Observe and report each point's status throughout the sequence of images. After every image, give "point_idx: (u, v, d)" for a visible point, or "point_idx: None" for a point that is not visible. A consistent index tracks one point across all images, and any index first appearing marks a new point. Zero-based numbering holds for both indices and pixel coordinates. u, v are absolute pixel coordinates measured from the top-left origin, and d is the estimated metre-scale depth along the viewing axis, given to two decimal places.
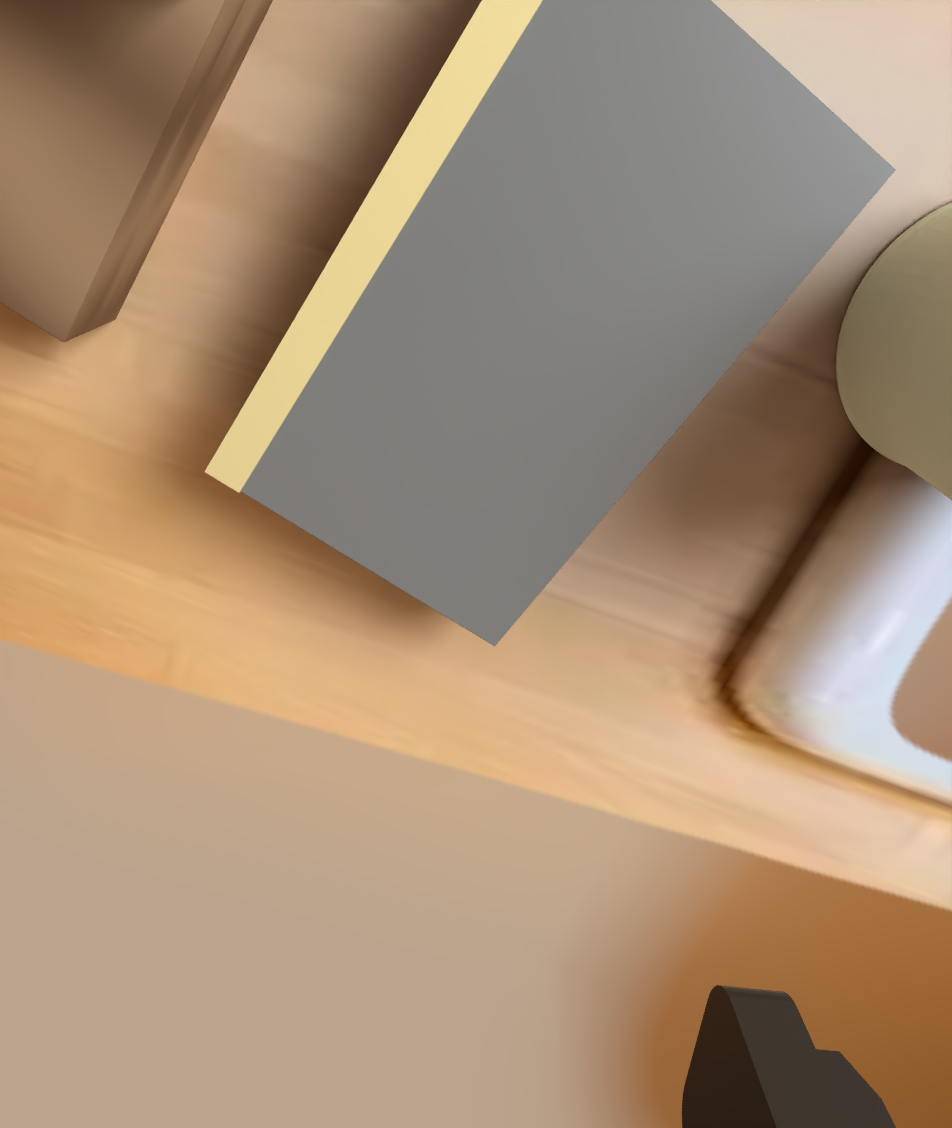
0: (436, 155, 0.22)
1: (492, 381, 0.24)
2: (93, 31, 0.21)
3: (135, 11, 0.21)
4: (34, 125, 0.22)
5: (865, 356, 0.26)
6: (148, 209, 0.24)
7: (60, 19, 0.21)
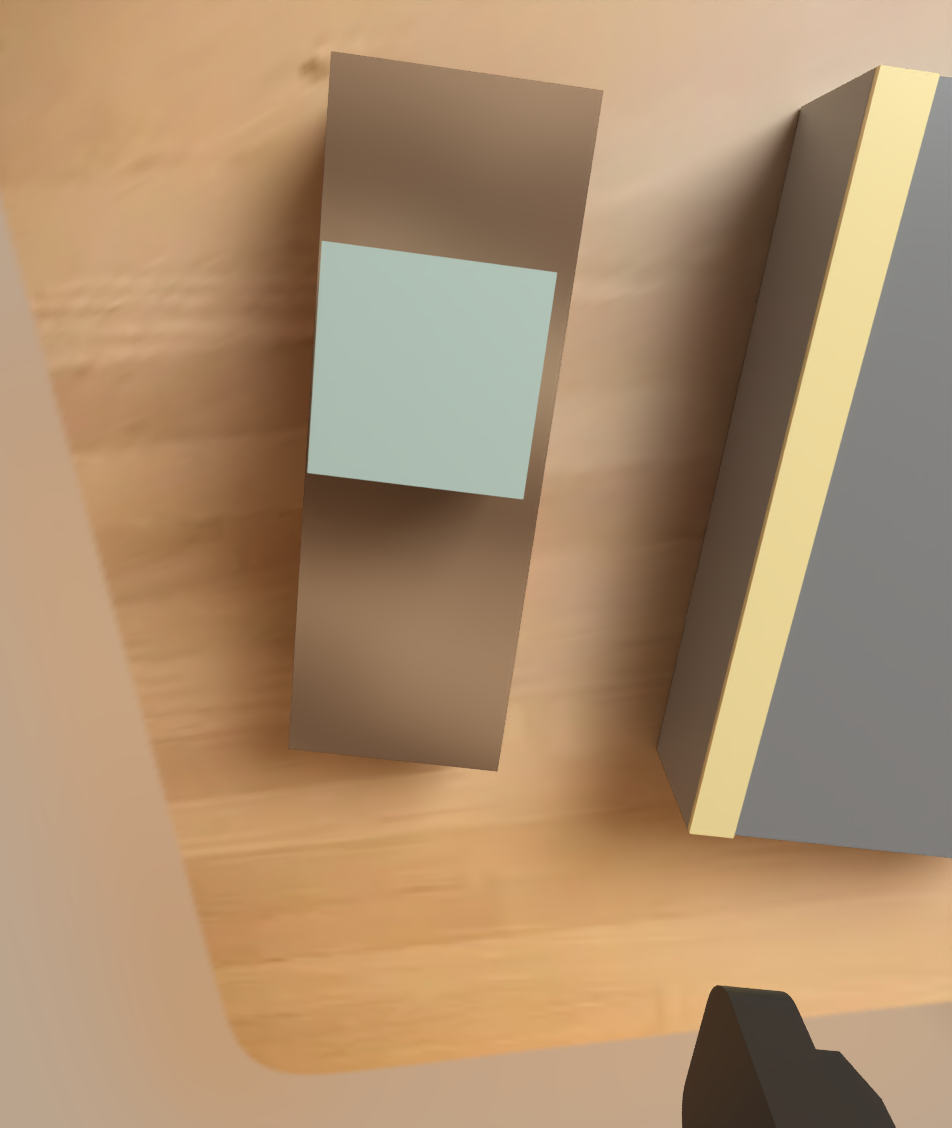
0: (838, 409, 0.18)
1: None
2: None
3: None
4: (408, 586, 0.20)
5: None
6: None
7: None
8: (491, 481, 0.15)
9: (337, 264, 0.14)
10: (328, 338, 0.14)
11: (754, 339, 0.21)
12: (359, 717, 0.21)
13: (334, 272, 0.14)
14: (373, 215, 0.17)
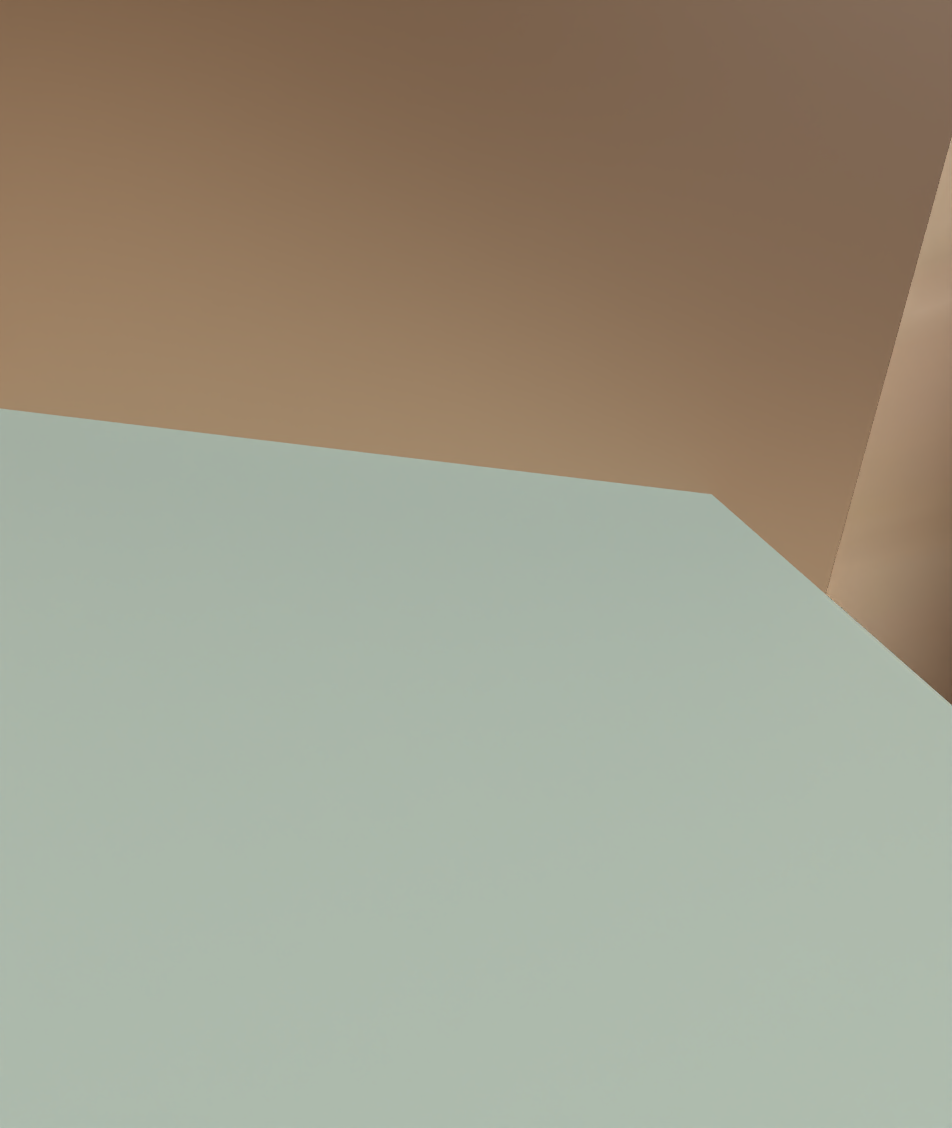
0: None
1: None
2: None
3: None
4: None
5: None
6: None
7: None
8: None
9: None
10: None
11: None
12: None
13: None
14: (36, 16, 0.04)
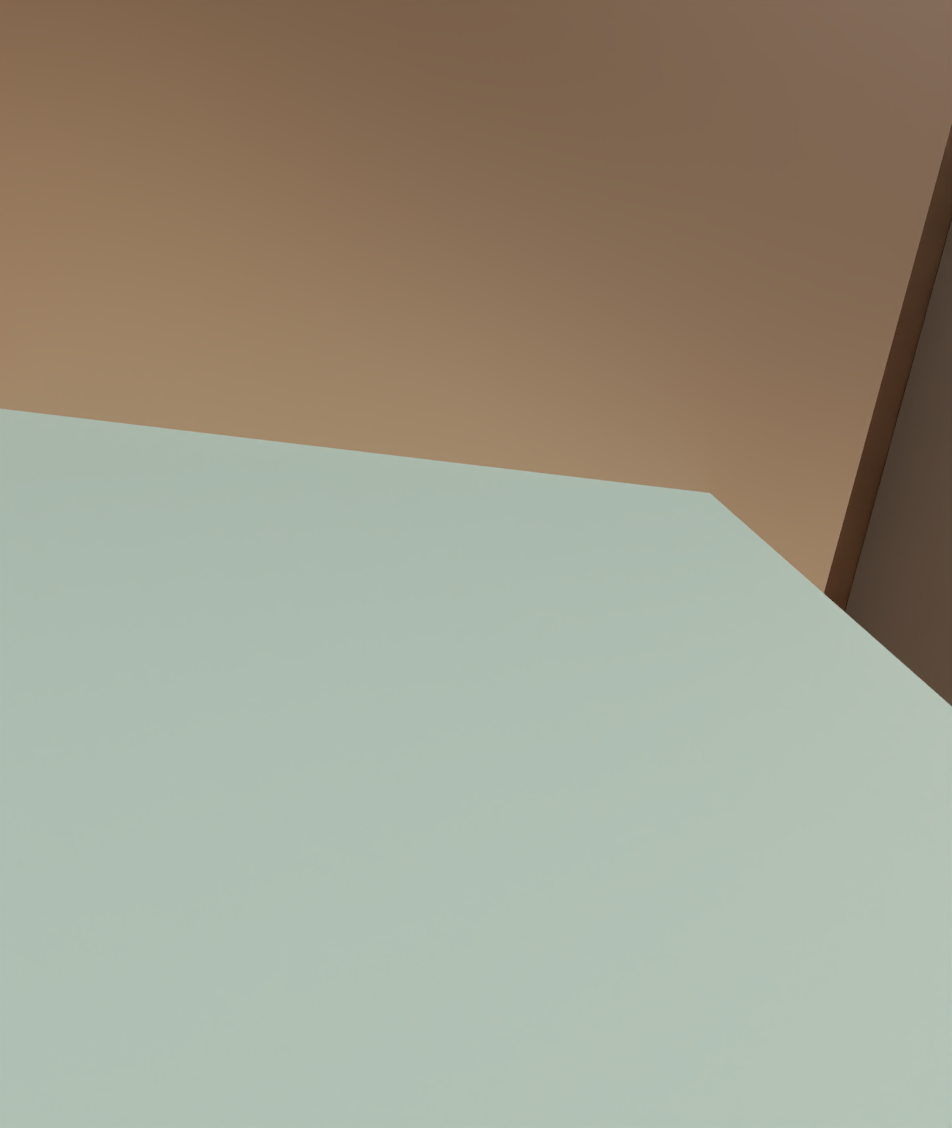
0: None
1: None
2: None
3: None
4: None
5: None
6: None
7: None
8: None
9: None
10: None
11: (917, 394, 0.14)
12: None
13: None
14: (34, 16, 0.04)
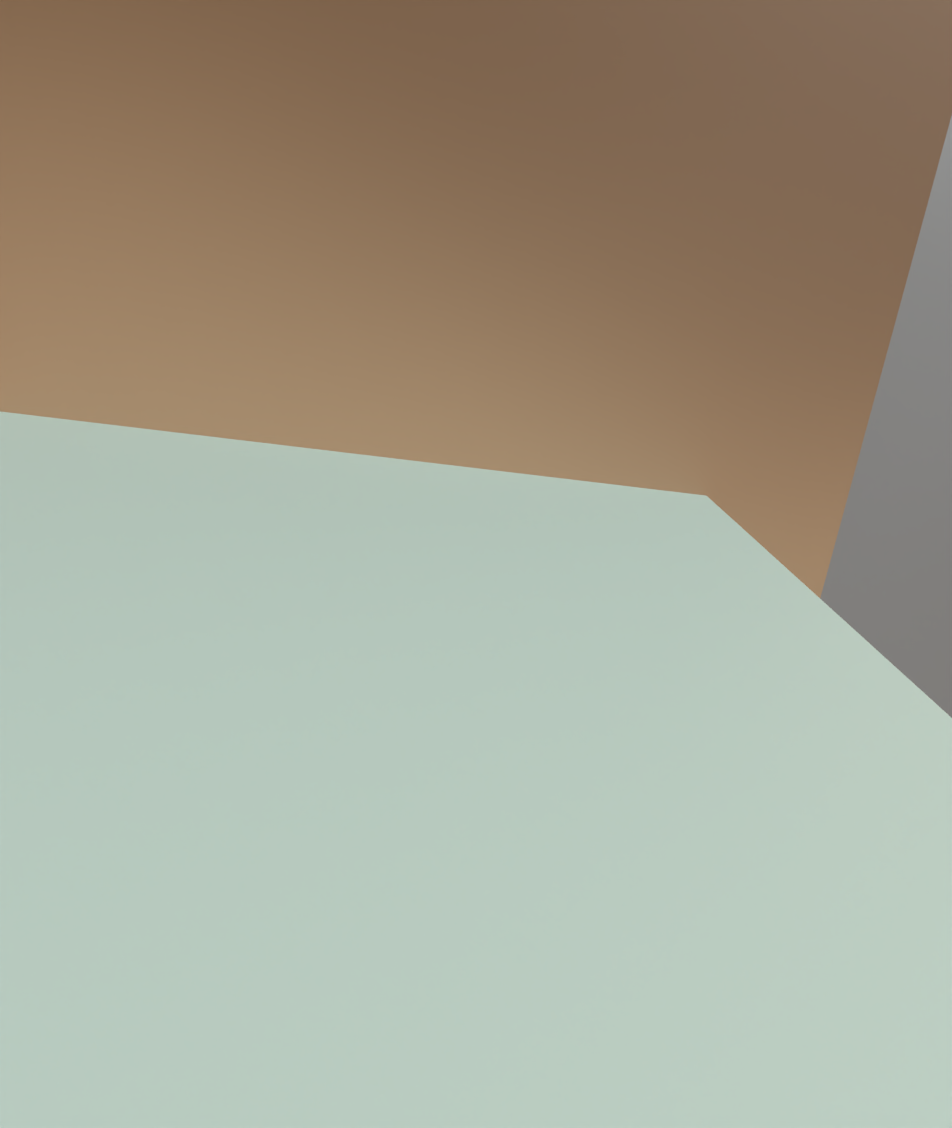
0: None
1: (880, 575, 0.20)
2: None
3: None
4: None
5: None
6: None
7: None
8: None
9: None
10: None
11: None
12: None
13: None
14: (28, 18, 0.04)
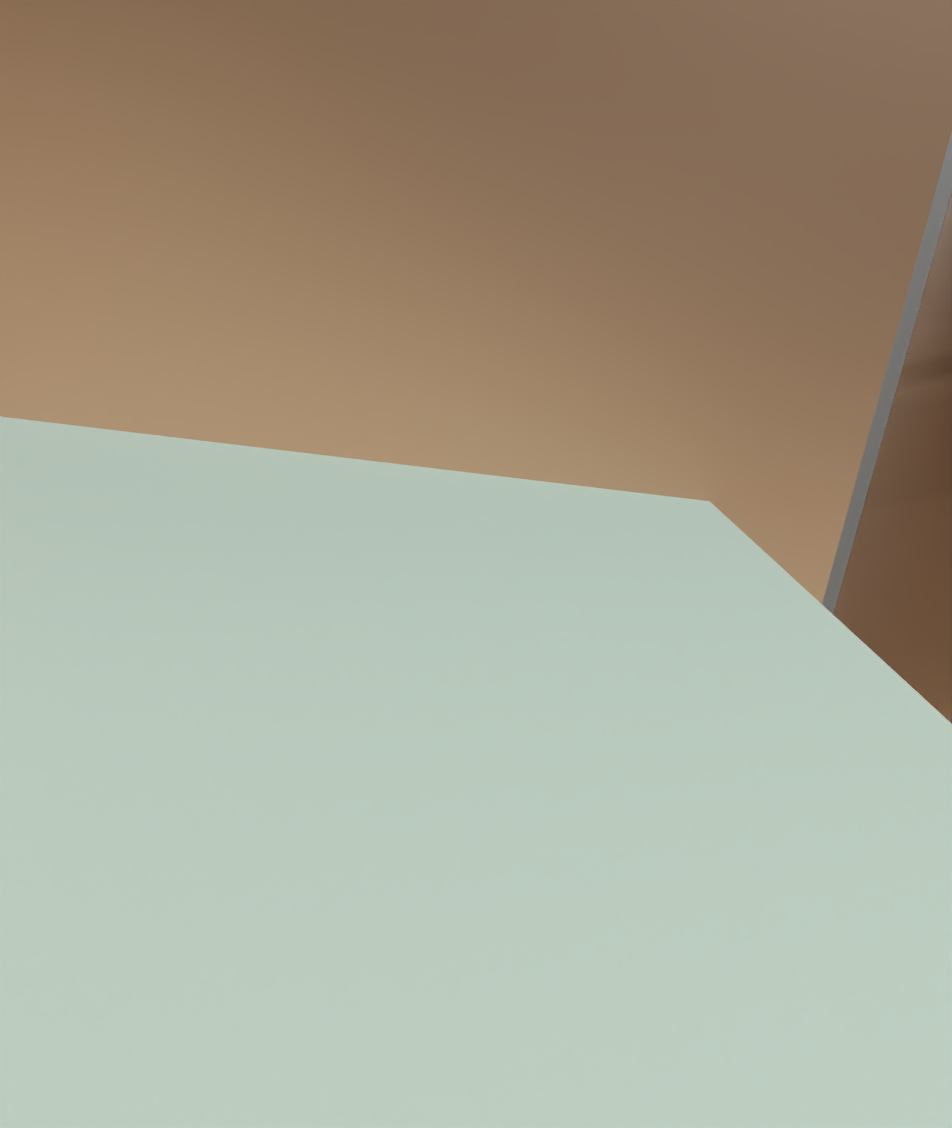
0: None
1: None
2: None
3: None
4: None
5: None
6: None
7: None
8: None
9: None
10: None
11: None
12: None
13: None
14: (38, 27, 0.04)
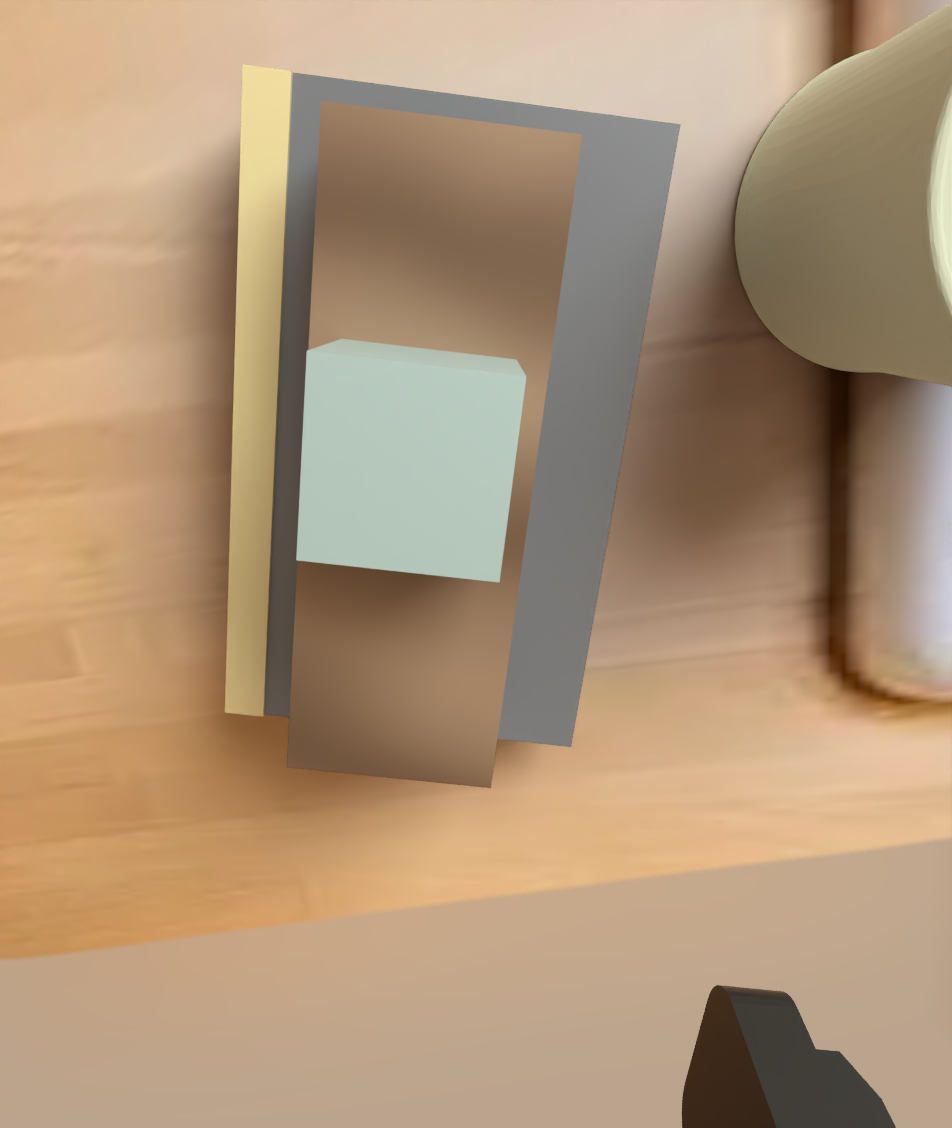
0: (271, 345, 0.23)
1: None
2: None
3: None
4: (401, 609, 0.21)
5: (773, 295, 0.24)
6: None
7: None
8: (469, 566, 0.16)
9: (321, 372, 0.15)
10: (314, 438, 0.15)
11: None
12: (355, 736, 0.22)
13: (318, 379, 0.15)
14: (363, 255, 0.18)
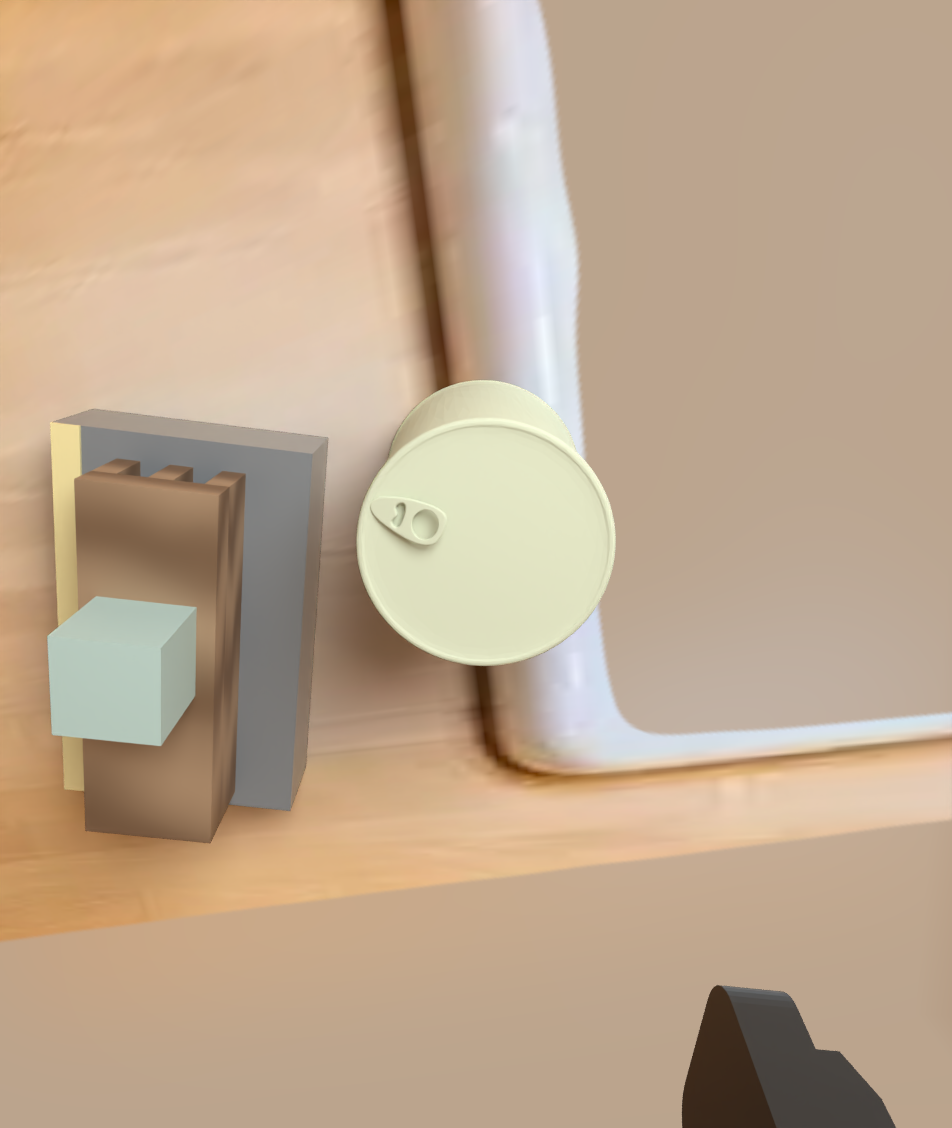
0: None
1: None
2: None
3: None
4: None
5: None
6: (224, 738, 0.37)
7: None
8: (143, 738, 0.31)
9: (55, 645, 0.30)
10: (55, 676, 0.30)
11: None
12: (125, 812, 0.36)
13: (54, 649, 0.30)
14: (104, 554, 0.33)
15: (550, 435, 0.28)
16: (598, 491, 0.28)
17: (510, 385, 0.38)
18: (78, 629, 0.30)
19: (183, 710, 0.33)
